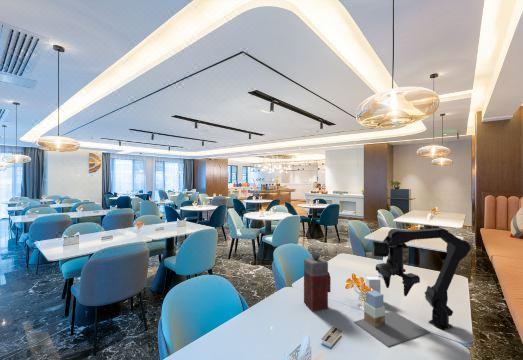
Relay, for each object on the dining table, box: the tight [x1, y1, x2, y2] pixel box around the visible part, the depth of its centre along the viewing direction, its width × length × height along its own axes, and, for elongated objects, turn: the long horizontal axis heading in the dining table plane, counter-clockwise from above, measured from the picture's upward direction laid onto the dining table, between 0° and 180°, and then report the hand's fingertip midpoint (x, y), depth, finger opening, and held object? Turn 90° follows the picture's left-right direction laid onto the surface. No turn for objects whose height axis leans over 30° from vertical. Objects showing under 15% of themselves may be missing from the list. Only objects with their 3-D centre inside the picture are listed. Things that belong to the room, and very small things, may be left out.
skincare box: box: [365, 276, 381, 293], centre depth 133 cm, size 6×4×12 cm
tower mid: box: [363, 301, 386, 318], centre depth 112 cm, size 6×6×4 cm
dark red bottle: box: [303, 249, 332, 312], centre depth 128 cm, size 9×11×28 cm
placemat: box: [353, 310, 431, 348], centre depth 109 cm, size 24×18×1 cm
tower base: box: [363, 311, 385, 327], centre depth 113 cm, size 6×6×4 cm
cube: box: [365, 290, 384, 308], centre depth 112 cm, size 5×5×5 cm
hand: (396, 291), depth 115 cm, fingers open, 9 cm apart
